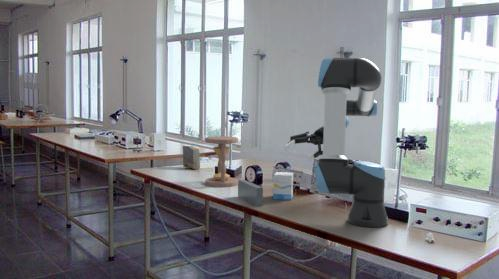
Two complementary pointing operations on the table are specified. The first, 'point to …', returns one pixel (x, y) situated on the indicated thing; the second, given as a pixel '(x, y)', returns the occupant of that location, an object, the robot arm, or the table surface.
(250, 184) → the block
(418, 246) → the table surface
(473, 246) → the table surface
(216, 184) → the hourglass
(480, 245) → the table surface
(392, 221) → the table surface
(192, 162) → the geological specimen
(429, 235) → the power adapter
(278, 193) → the ink box
